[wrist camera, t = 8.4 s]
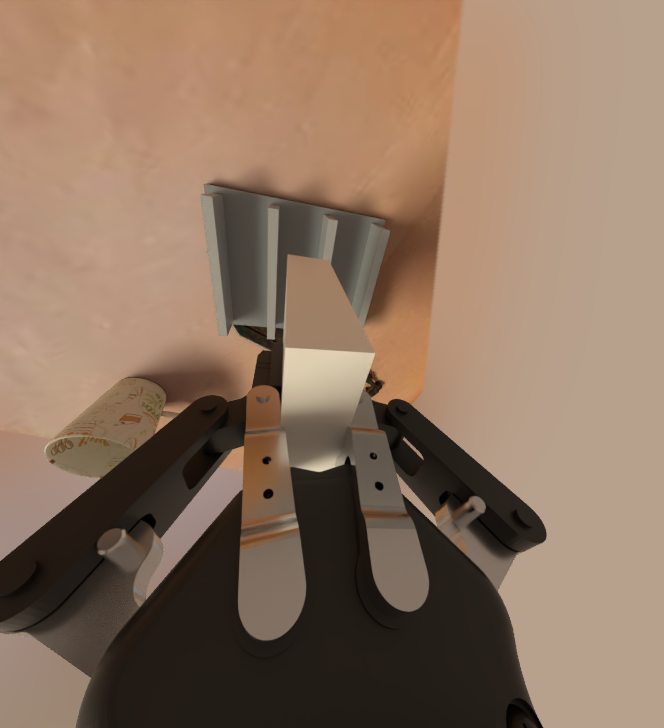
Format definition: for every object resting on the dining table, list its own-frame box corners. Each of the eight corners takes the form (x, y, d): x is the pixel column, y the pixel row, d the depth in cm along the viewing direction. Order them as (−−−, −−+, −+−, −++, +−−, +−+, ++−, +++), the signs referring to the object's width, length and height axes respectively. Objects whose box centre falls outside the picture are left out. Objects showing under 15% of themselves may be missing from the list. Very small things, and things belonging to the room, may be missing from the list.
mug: (107, 361, 29) (41, 428, 21) (213, 391, 34) (192, 453, 27) (102, 403, 33) (44, 473, 25) (198, 424, 38) (175, 487, 30)
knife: (220, 321, 29) (218, 327, 27) (249, 281, 26) (248, 286, 25) (356, 402, 41) (358, 408, 40) (384, 380, 39) (387, 386, 38)
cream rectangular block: (281, 371, 19) (275, 501, 11) (287, 254, 14) (285, 347, 6) (311, 372, 20) (326, 497, 12) (328, 260, 14) (375, 353, 7)
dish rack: (222, 319, 28) (213, 339, 24) (206, 183, 20) (189, 184, 17) (353, 330, 31) (362, 349, 28) (382, 218, 24) (399, 225, 20)
